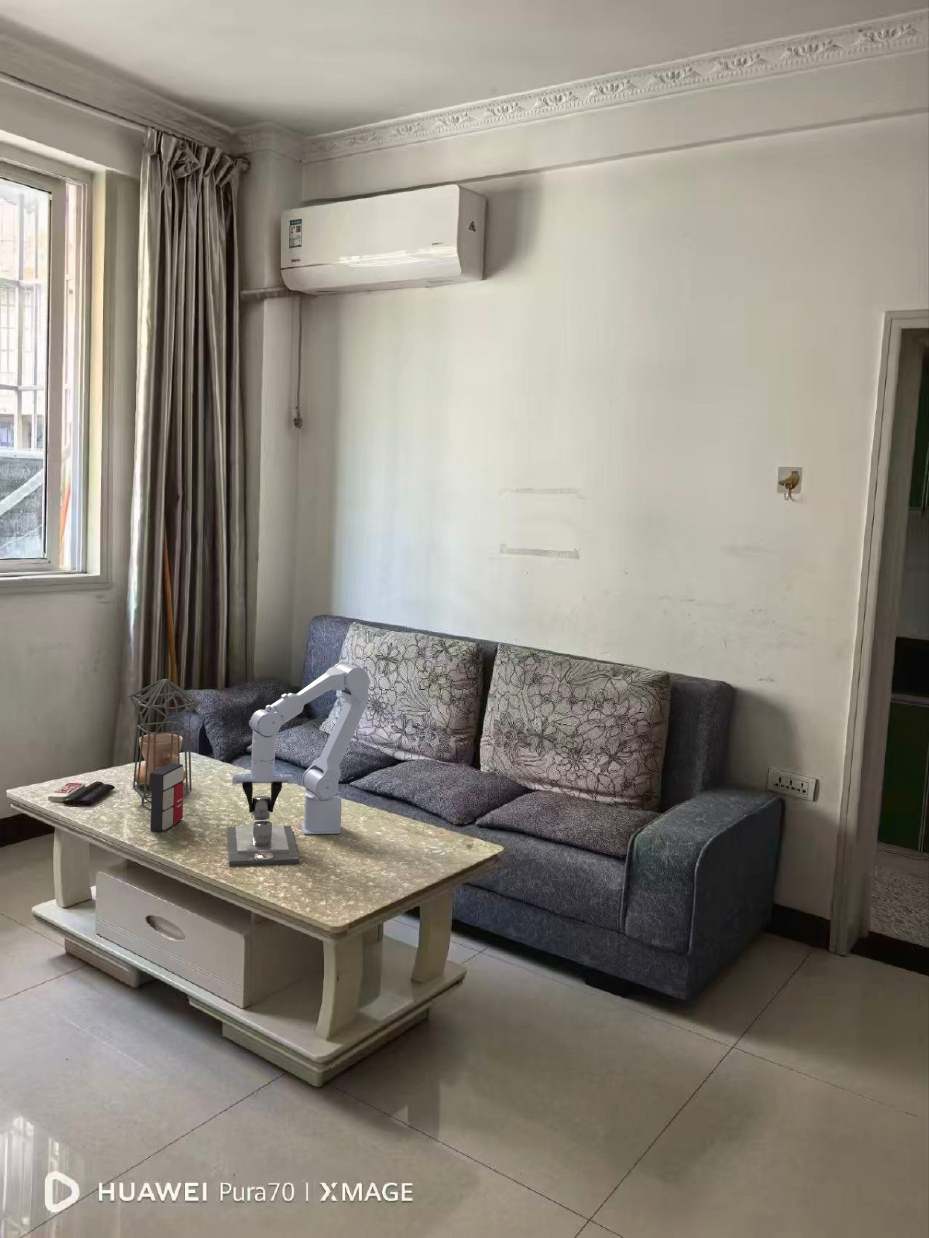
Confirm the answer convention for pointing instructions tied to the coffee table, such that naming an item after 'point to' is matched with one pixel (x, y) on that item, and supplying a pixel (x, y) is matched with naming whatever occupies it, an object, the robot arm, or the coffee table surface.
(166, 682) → the geometric lantern
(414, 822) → the coffee table surface
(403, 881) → the coffee table surface
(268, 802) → the cylinder
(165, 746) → the ceramic jug
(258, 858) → the base
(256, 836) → the cylinder
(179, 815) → the grey and red box
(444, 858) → the coffee table surface
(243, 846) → the pan
